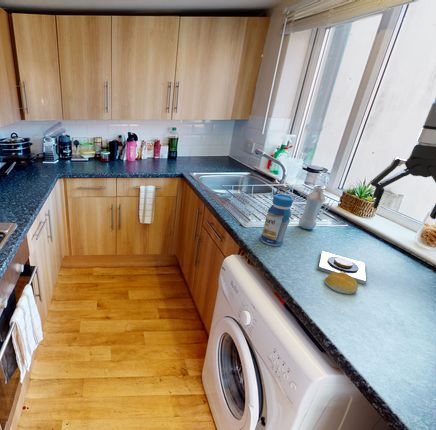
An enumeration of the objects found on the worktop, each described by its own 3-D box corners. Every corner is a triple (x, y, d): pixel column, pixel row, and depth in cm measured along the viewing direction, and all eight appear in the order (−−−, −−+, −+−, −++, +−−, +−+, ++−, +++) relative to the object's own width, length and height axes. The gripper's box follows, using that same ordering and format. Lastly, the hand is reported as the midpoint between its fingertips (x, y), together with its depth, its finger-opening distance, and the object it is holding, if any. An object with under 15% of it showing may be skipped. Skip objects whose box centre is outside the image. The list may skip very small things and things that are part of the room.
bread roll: (320, 285, 94) (324, 275, 92) (330, 275, 99) (334, 265, 97) (351, 299, 88) (356, 288, 86) (359, 287, 93) (364, 277, 91)
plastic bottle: (300, 223, 136) (313, 183, 127) (316, 228, 131) (331, 187, 122) (294, 227, 132) (308, 186, 123) (311, 232, 127) (326, 190, 119)
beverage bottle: (285, 247, 115) (300, 201, 107) (263, 245, 116) (276, 199, 108) (278, 237, 123) (291, 193, 114) (257, 235, 124) (268, 192, 115)
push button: (363, 266, 104) (366, 260, 103) (364, 284, 94) (367, 277, 93) (320, 254, 111) (323, 247, 110) (317, 269, 101) (320, 263, 100)
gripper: (494, 147, 78) (455, 217, 87) (376, 138, 91) (352, 200, 100) (506, 152, 73) (463, 226, 81) (378, 141, 86) (353, 206, 95)
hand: (402, 212), depth 91 cm, fingers open, 13 cm apart
